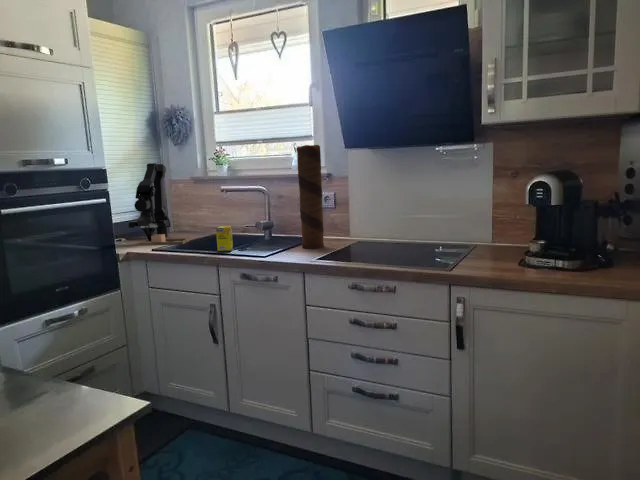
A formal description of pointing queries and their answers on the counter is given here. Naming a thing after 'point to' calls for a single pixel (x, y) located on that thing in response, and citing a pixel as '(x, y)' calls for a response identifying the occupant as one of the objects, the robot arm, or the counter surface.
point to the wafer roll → (310, 195)
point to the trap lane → (168, 242)
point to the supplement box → (224, 239)
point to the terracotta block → (158, 238)
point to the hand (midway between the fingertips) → (150, 241)
